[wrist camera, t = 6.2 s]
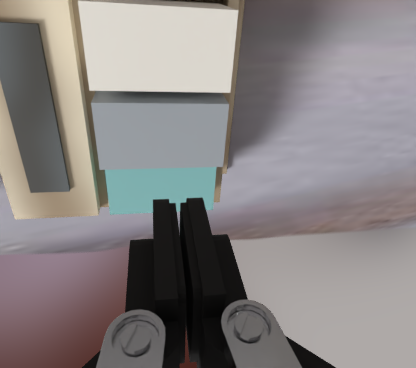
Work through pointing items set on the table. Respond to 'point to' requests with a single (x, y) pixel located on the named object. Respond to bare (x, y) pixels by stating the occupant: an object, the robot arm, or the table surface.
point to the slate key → (159, 129)
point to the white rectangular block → (158, 45)
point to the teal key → (158, 187)
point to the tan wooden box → (58, 111)
